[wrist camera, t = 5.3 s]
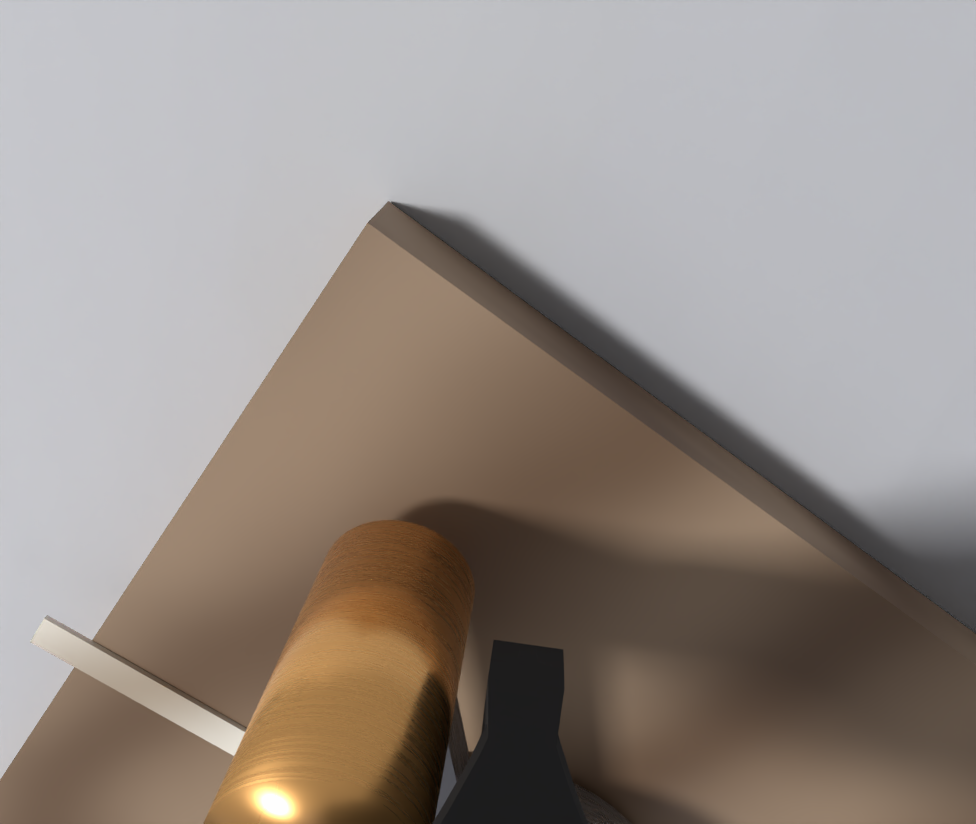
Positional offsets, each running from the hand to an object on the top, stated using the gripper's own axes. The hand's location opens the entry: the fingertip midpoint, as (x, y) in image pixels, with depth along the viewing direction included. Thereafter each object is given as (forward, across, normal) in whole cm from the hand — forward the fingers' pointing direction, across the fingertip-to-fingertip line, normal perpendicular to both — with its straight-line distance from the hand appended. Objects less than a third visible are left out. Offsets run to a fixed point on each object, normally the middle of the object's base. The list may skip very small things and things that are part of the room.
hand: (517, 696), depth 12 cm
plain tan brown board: (+5, 0, +9) cm, 10 cm away
